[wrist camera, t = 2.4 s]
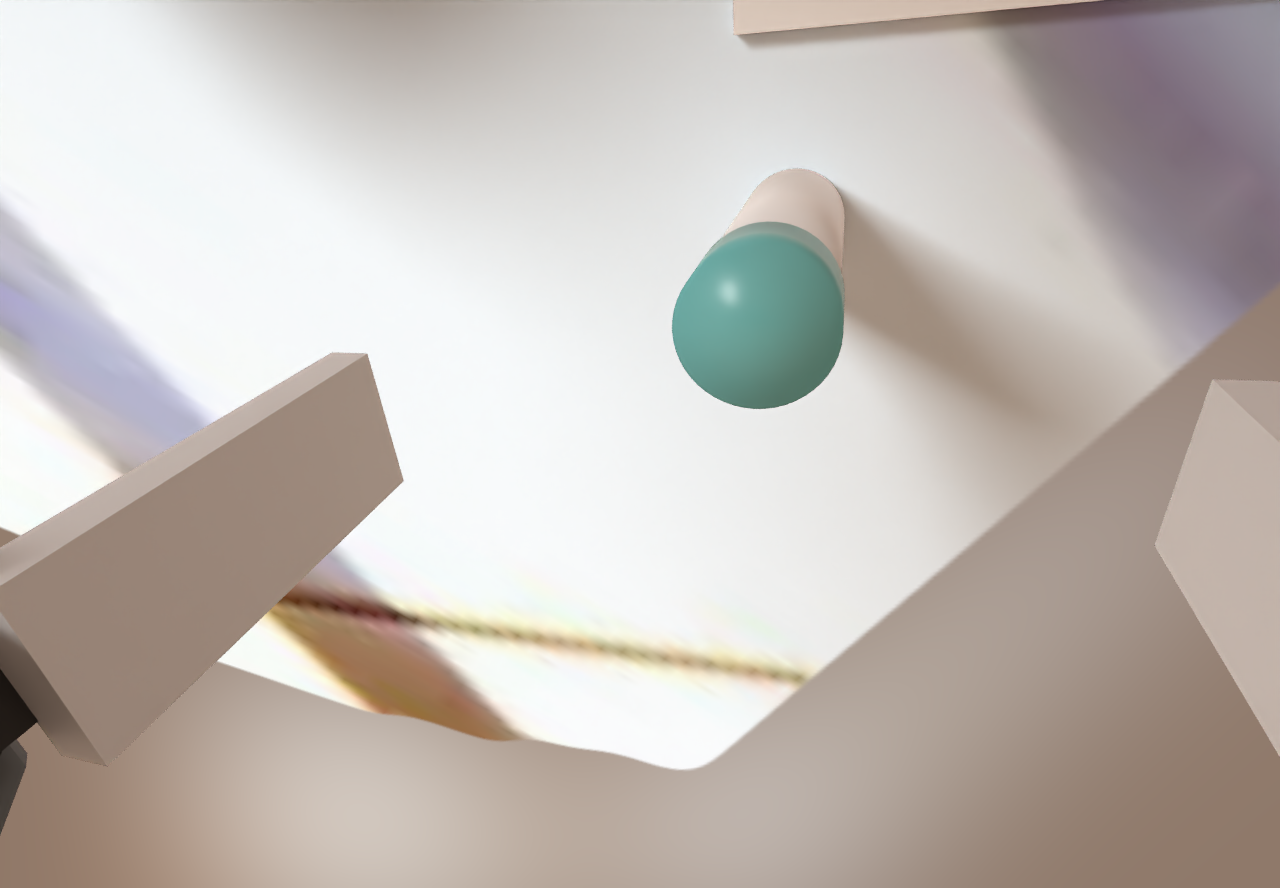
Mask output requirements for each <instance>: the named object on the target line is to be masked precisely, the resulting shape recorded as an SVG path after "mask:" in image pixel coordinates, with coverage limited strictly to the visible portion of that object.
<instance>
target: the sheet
mask: <svg viewBox="0 0 1280 888" xmlns="http://www.w3.org/2000/svg"><path fill="white" fill-rule="evenodd" d="M1092 1H1102V0H733V15H734V35H742V34H752V33H763V32H773V31H784V30H795V29H805V28H816V27H827V26H837V25H848V24H858V23H869V22H880V21H890V20H901V19H911V18H922V17H933V16H943V15H954V14H964V13H975V12H986V11H996V10H1007V9H1017V8H1028V7H1039V6H1049V5H1060V4H1071V3H1081V2H1092Z"/></svg>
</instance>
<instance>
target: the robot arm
mask: <svg viewBox="0 0 1280 888" xmlns="http://www.w3.org/2000/svg"><path fill="white" fill-rule="evenodd" d="M402 482H403V477H402V474H401V470H400V467H399V463H398V460H397V456H396V453H395V449H394V446H393V442H392V439H391V435H390V432H389V428H388V425H387V421H386V418H385V414H384V411H383V407H382V404H381V400H380V397H379V393H378V390H377V386H376V383H375V379H374V376H373V372H372V369H371V365H370V362H369V358H368V355H367V354H364V353H330V354H329V355H327V356H325V357H324V358H322V359H320V360H319V361H317V362H315V363H313V364H312V365H310V366H308V367H307V368H305V369H303V370H302V371H300V372H298V373H296V374H295V375H293V376H291V377H290V378H288V379H286V380H285V381H283V382H281V383H279V384H278V385H276V386H274V387H273V388H271V389H269V390H268V391H266V392H264V393H262V394H261V395H259V396H257V397H256V398H254V399H252V400H251V401H249V402H247V403H245V404H244V405H242V406H240V407H239V408H237V409H235V410H234V411H232V412H230V413H228V414H227V415H225V416H223V417H222V418H220V419H218V420H217V421H215V422H213V423H211V424H210V425H208V426H206V427H205V428H203V429H201V430H200V431H198V432H196V433H194V434H193V435H191V436H189V437H188V438H186V439H184V440H183V441H181V442H179V443H177V444H176V445H174V446H172V447H171V448H169V449H167V450H166V451H164V452H162V453H160V454H159V455H157V456H155V457H154V458H152V459H150V460H149V461H147V462H145V463H143V464H142V465H140V466H138V467H137V468H135V469H133V470H132V471H130V472H128V473H126V474H125V475H123V476H121V477H120V478H118V479H116V480H115V481H113V482H111V483H109V484H108V485H106V486H104V487H103V488H101V489H99V490H98V491H96V492H94V493H93V494H91V495H89V496H87V497H86V498H84V499H82V500H81V501H79V502H77V503H76V504H74V505H72V506H70V507H69V508H67V509H65V510H64V511H62V512H60V513H59V514H57V515H55V516H53V517H52V518H50V519H48V520H47V521H45V522H43V523H42V524H40V525H38V526H36V527H35V528H33V529H31V530H30V531H28V532H26V533H25V534H23V535H21V536H19V537H18V538H16V539H14V540H13V541H11V542H9V543H8V544H6V545H4V546H3V547H1V548H0V834H1V832H2V829H3V826H4V824H5V821H6V818H7V816H8V813H9V810H10V808H11V805H12V803H13V800H14V797H15V795H16V792H17V789H18V787H19V784H20V781H21V779H22V776H23V773H24V771H25V768H26V761H27V752H26V751H25V750H24V748H23V747H22V746H21V745H20V743H19V742H18V741H17V738H18V737H20V736H21V735H22V734H23V733H25V732H26V731H27V730H28V729H29V728H31V727H32V726H33V725H34V724H35V723H38V724H39V726H40V727H41V728H42V730H43V731H44V732H45V734H46V735H47V737H48V738H49V739H50V740H51V742H52V743H53V744H54V746H55V747H56V749H57V750H58V751H59V753H60V754H61V755H62V756H66V757H70V758H75V759H79V760H82V761H87V762H91V763H95V764H99V765H103V766H109V765H110V763H112V762H113V761H114V760H115V758H117V757H118V756H119V755H120V754H121V753H122V752H123V751H124V750H125V749H126V748H127V747H128V746H129V745H130V744H131V743H132V742H133V741H134V740H136V739H137V738H138V737H139V736H140V735H141V733H143V732H144V731H145V730H146V729H147V728H148V727H149V726H150V725H151V724H152V723H153V722H154V721H155V720H156V719H157V718H158V717H159V716H160V715H161V714H162V713H164V712H165V710H167V709H168V707H170V706H171V705H172V704H173V703H174V702H175V701H176V700H177V699H178V698H179V697H180V696H181V695H182V694H183V693H184V692H185V691H186V690H187V689H188V688H189V687H190V686H191V685H193V684H194V683H195V682H196V681H197V680H198V679H199V678H200V677H201V676H202V675H203V674H204V673H205V672H206V671H207V670H208V669H209V668H210V667H211V666H212V665H213V664H214V663H215V662H216V661H217V660H218V659H219V658H221V657H222V656H223V655H224V654H225V653H226V652H227V651H228V650H229V649H230V648H231V647H232V646H233V645H234V644H235V643H236V642H237V641H238V640H239V639H240V638H241V637H242V636H243V635H244V634H245V633H246V632H247V631H249V630H250V629H251V628H252V627H253V626H254V625H255V624H256V623H257V622H258V621H259V620H260V619H261V618H262V617H263V616H264V615H265V614H266V613H267V612H268V611H269V610H270V609H271V608H272V607H273V606H274V605H275V604H277V603H278V602H279V601H280V600H281V599H282V598H283V597H284V596H285V595H286V594H287V593H288V592H289V591H290V590H291V589H292V588H293V587H294V586H295V585H296V584H297V583H298V582H299V581H300V580H301V579H302V578H303V577H304V576H306V575H307V574H308V573H309V572H310V571H311V570H312V569H313V568H314V567H315V566H316V565H317V564H318V563H319V562H320V561H321V560H322V559H323V558H324V557H325V556H326V555H327V554H328V553H329V552H330V551H331V550H332V549H334V548H335V547H336V546H337V545H338V544H339V543H340V542H341V541H342V540H343V539H344V538H345V537H346V536H347V535H348V534H349V533H350V532H351V531H352V530H353V529H354V528H355V527H356V526H357V525H358V524H359V523H360V522H362V521H363V520H364V519H365V518H366V517H367V516H368V515H369V514H370V513H371V512H372V511H373V510H374V509H375V508H376V507H377V506H378V505H379V504H380V503H381V502H382V501H383V500H384V499H385V498H386V497H387V496H388V495H389V494H391V493H392V492H393V491H394V490H395V489H396V488H397V487H398V486H399V485H400V484H401V483H402ZM1154 546H1155V547H1156V549H1157V551H1158V552H1159V554H1160V556H1161V558H1162V559H1163V561H1164V562H1165V564H1166V566H1167V568H1168V569H1169V571H1170V573H1171V574H1172V576H1173V578H1174V579H1175V581H1176V583H1177V585H1178V586H1179V588H1180V590H1181V591H1182V593H1183V595H1184V596H1185V598H1186V600H1187V601H1188V603H1189V605H1190V606H1191V608H1192V610H1193V611H1194V613H1195V615H1196V616H1197V618H1198V620H1199V621H1200V623H1201V625H1202V626H1203V628H1204V630H1205V632H1206V633H1207V635H1208V637H1209V638H1210V640H1211V642H1212V643H1213V645H1214V647H1215V649H1216V650H1217V652H1218V654H1219V655H1220V657H1221V659H1222V660H1223V662H1224V664H1225V665H1226V667H1227V668H1228V670H1229V672H1230V674H1231V675H1232V677H1233V679H1234V680H1235V682H1236V684H1237V686H1238V687H1239V689H1240V691H1241V692H1242V694H1243V696H1244V697H1245V699H1246V701H1247V702H1248V704H1249V706H1250V707H1251V709H1252V711H1253V713H1254V714H1255V716H1256V718H1257V719H1258V721H1259V723H1260V724H1261V726H1262V728H1263V729H1264V731H1265V733H1266V734H1267V736H1268V738H1269V739H1270V741H1271V743H1272V745H1273V746H1274V748H1275V750H1276V751H1277V753H1278V755H1279V756H1280V381H1254V380H1221V379H1219V380H1218V379H1212V382H1211V384H1210V387H1209V390H1208V393H1207V396H1206V399H1205V402H1204V404H1203V407H1202V410H1201V413H1200V416H1199V419H1198V422H1197V425H1196V427H1195V430H1194V433H1193V436H1192V439H1191V442H1190V445H1189V447H1188V450H1187V453H1186V456H1185V459H1184V462H1183V465H1182V468H1181V471H1180V474H1179V476H1178V479H1177V482H1176V485H1175V488H1174V491H1173V493H1172V496H1171V499H1170V502H1169V505H1168V508H1167V511H1166V514H1165V516H1164V519H1163V522H1162V525H1161V528H1160V531H1159V534H1158V537H1157V539H1156V542H1155V545H1154Z"/></svg>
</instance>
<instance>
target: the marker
mask: <svg viewBox="0 0 1280 888" xmlns="http://www.w3.org/2000/svg"><path fill="white" fill-rule="evenodd" d="M844 223H845V212H844V206H843V202H842V199H841V197H840V194H839V193H838V191H837V189H836V188H835V187H834V185H833V184H832V183H831V182H830V181H829V180H828V179H826V178H825V177H824V176H822V175H820V174H818V173H816V172H814V171H811V170H807V169H798V168H794V169H786V170H782V171H779V172H777V173H774V174H773V175H771V176H769V177H768V178H766V179H765V180H763V181H762V182H761V183H760V184H759V185H758V186H757V187H756V189H755V190H754V191H753V192H752V194H751V195H750V197H749V198H748V200H747V201H746V203H745V204H744V206H743V207H742V209H741V210H740V212H739V213H738V215H737V216H736V218H735V219H734V221H733V222H732V224H731V225H730V227H729V228H728V230H727V231H726V233H725V234H724V236H723V237H722V238H721V239H720V240H719V241H717V242H716V243H715V244H714V245H713V246H712V247H711V249H710V250H709V251H708V252H707V254H706V255H705V257H704V258H703V259H702V261H701V262H700V264H699V265H698V267H697V268H696V269H695V271H694V272H693V274H692V275H691V277H690V278H689V279H688V281H687V282H686V284H685V286H684V287H683V289H682V290H681V292H680V295H679V297H678V299H677V302H676V305H675V309H674V314H673V320H672V333H673V341H674V345H675V349H676V352H677V355H678V357H679V360H680V362H681V363H682V365H683V367H684V369H685V370H686V372H687V373H688V374H689V376H690V377H691V378H692V379H693V380H694V381H695V382H696V383H697V385H699V386H700V387H701V388H702V389H703V390H705V391H706V392H707V393H709V394H710V395H712V396H713V397H715V398H717V399H719V400H721V401H723V402H726V403H729V404H732V405H735V406H739V407H744V408H752V409H766V408H774V407H779V406H783V405H786V404H789V403H792V402H794V401H797V400H798V399H800V398H802V397H804V396H806V395H807V394H809V393H810V392H811V391H813V390H814V389H815V388H816V387H817V386H818V385H820V384H821V383H822V382H823V380H824V379H825V378H826V377H827V376H828V374H829V373H830V371H831V370H832V368H833V366H834V365H835V362H836V360H837V358H838V356H839V352H840V349H841V345H842V338H843V323H844V282H843V277H842V259H843V241H844Z"/></svg>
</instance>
